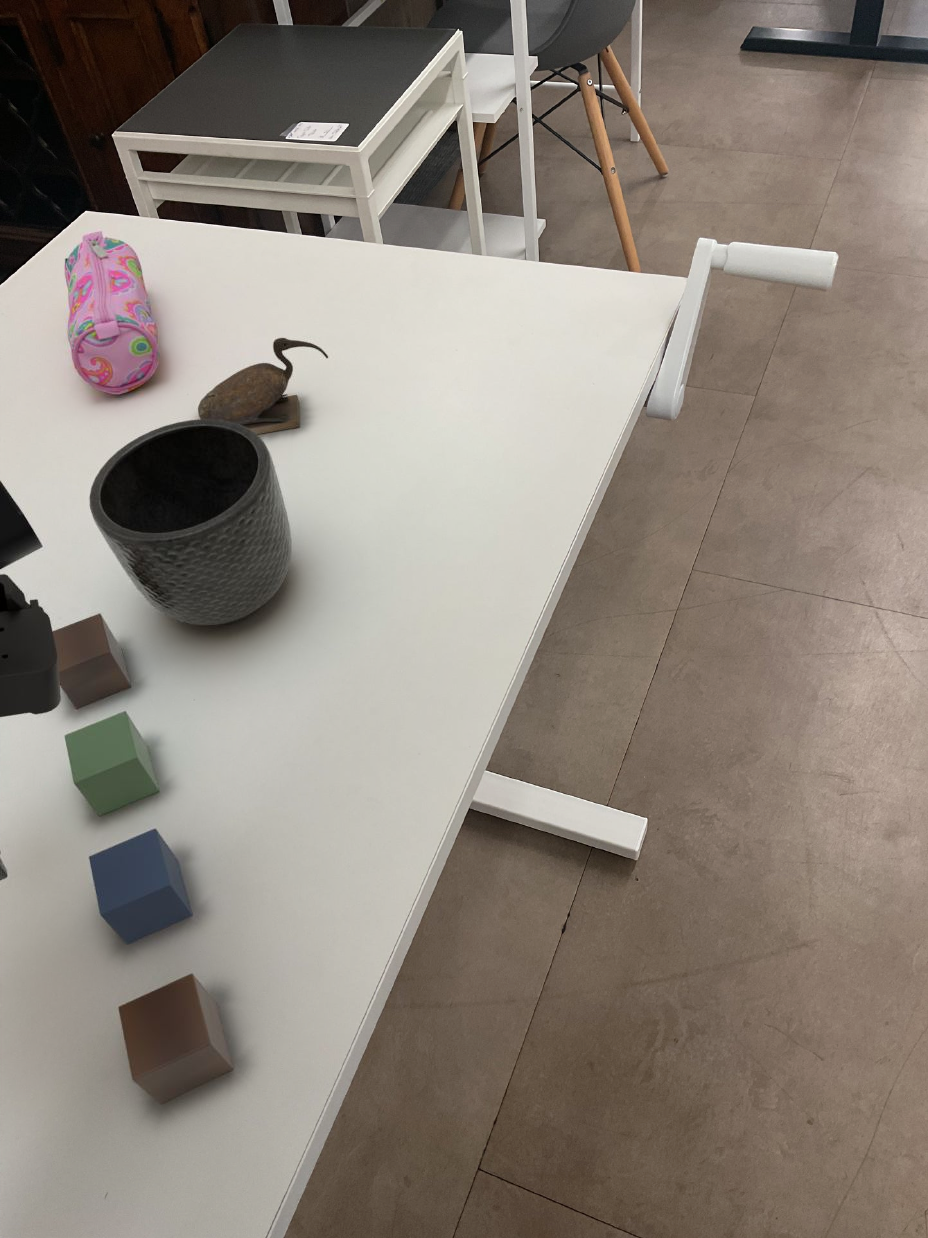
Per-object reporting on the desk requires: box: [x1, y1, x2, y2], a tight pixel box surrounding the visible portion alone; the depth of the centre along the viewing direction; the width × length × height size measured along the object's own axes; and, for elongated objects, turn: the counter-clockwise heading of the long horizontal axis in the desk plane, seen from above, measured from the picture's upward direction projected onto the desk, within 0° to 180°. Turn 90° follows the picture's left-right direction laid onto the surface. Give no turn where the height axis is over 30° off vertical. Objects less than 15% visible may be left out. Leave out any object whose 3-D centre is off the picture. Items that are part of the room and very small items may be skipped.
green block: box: [64, 710, 160, 817], centre depth 72 cm, size 4×4×4 cm
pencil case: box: [64, 231, 160, 395], centre depth 110 cm, size 21×9×9 cm, turn 17°
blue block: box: [88, 828, 193, 945], centre depth 66 cm, size 4×4×4 cm
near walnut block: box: [117, 973, 234, 1105], centre depth 59 cm, size 4×4×4 cm
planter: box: [89, 418, 293, 626], centre depth 81 cm, size 14×14×13 cm
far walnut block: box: [52, 613, 132, 709], centre depth 79 cm, size 4×4×4 cm
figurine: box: [197, 337, 329, 435], centre depth 97 cm, size 14×4×9 cm, turn 97°
